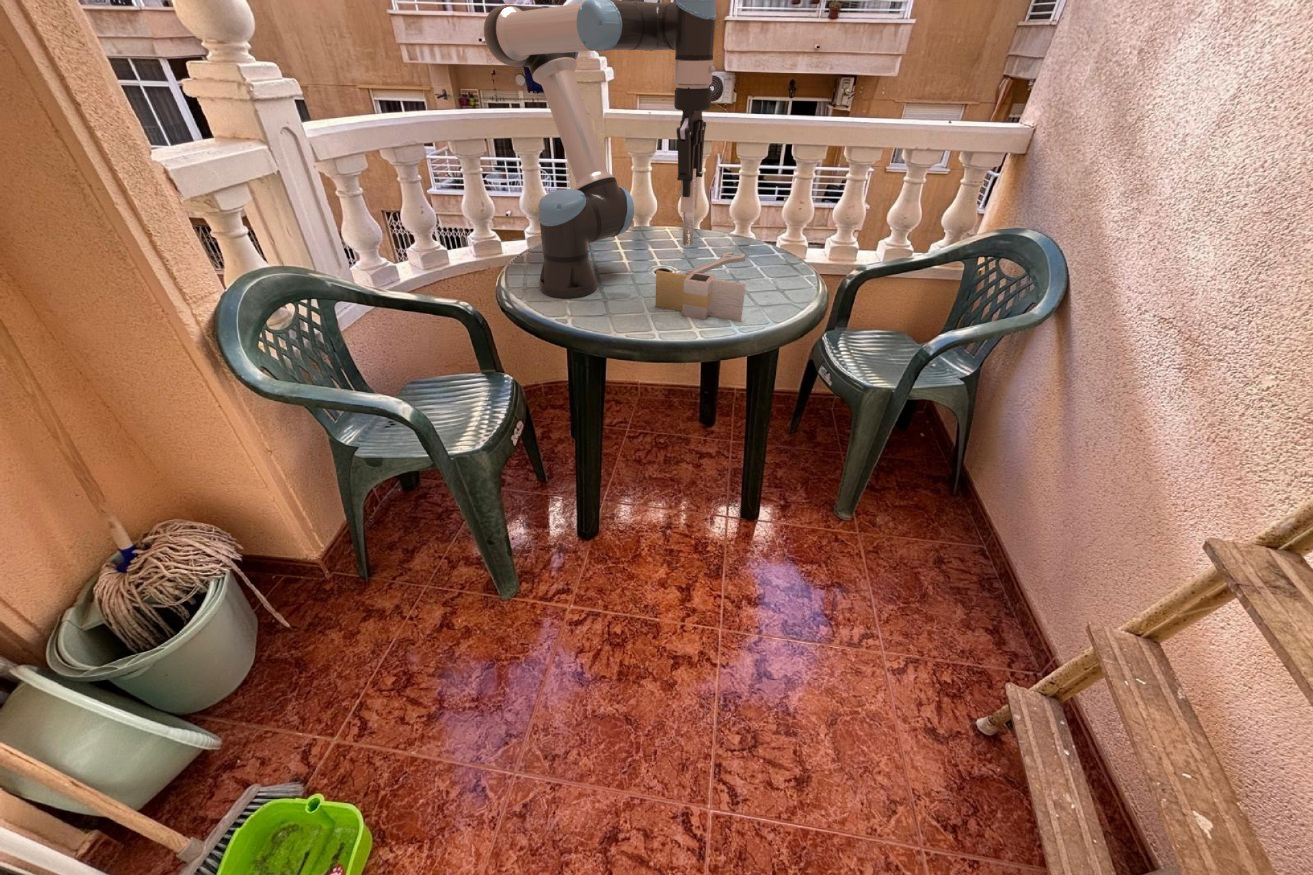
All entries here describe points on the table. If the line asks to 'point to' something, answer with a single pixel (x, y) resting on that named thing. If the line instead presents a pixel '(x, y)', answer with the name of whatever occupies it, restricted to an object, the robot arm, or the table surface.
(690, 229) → the hinge pin
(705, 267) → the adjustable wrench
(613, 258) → the table surface
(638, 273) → the table surface
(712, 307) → the hinge
